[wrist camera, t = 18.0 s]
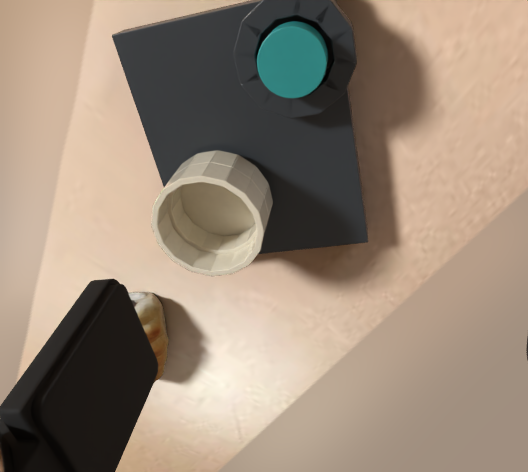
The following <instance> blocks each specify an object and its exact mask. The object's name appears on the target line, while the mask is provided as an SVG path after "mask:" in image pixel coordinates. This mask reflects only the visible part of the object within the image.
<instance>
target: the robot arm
mask: <svg viewBox="0 0 528 472" xmlns="http://www.w3.org/2000/svg"><path fill="white" fill-rule="evenodd" d="M527 359H528V338H527ZM157 373H158V361H157V358H156V356H155V353H154V351H153V349H152V346H151V344H150V342H149V340H148V337H147V335H146V333H145V330H144V328H143V326H142V324H141V321H140V319H139V317H138V314H137V312H136V310H135V308H134V305H133V303H132V301H131V298H130V296H129V294H128V292H127V289H126V287H125V286H124V285H122V284H119V282H118V281H117V280H115V279H106V280H94V281H91V282H90V283H89V284H88V286H87V287H86V288H85V290H84V291H83V292H82V294H81V295H80V297H79V298H78V299H77V301H76V302H75V304H74V305H73V306H72V308H71V309H70V310H69V312H68V313H67V315H66V316H65V317H64V319H63V320H62V321H61V323H60V324H59V326H58V327H57V328H56V330H55V331H54V333H53V334H52V335H51V337H50V338H49V339H48V341H47V342H46V344H45V345H44V346H43V348H42V349H41V350H40V352H39V353H38V355H37V356H36V357H35V359H34V360H33V362H32V363H31V364H30V366H29V367H28V368H27V370H26V371H25V373H24V374H23V375H22V377H21V378H20V380H19V381H18V382H17V384H16V385H15V386H14V388H13V389H12V391H11V392H10V394H9V395H8V396H7V398H6V399H5V400H4V402H3V403H2V404H1V406H0V472H115V471H116V468H117V466H118V464H119V461H120V459H121V457H122V455H123V452H124V450H125V448H126V445H127V443H128V441H129V438H130V436H131V434H132V432H133V429H134V427H135V425H136V422H137V420H138V418H139V415H140V413H141V411H142V409H143V406H144V404H145V402H146V399H147V397H148V395H149V392H150V390H151V388H152V386H153V383H154V381H155V379H156V376H157Z"/></svg>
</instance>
